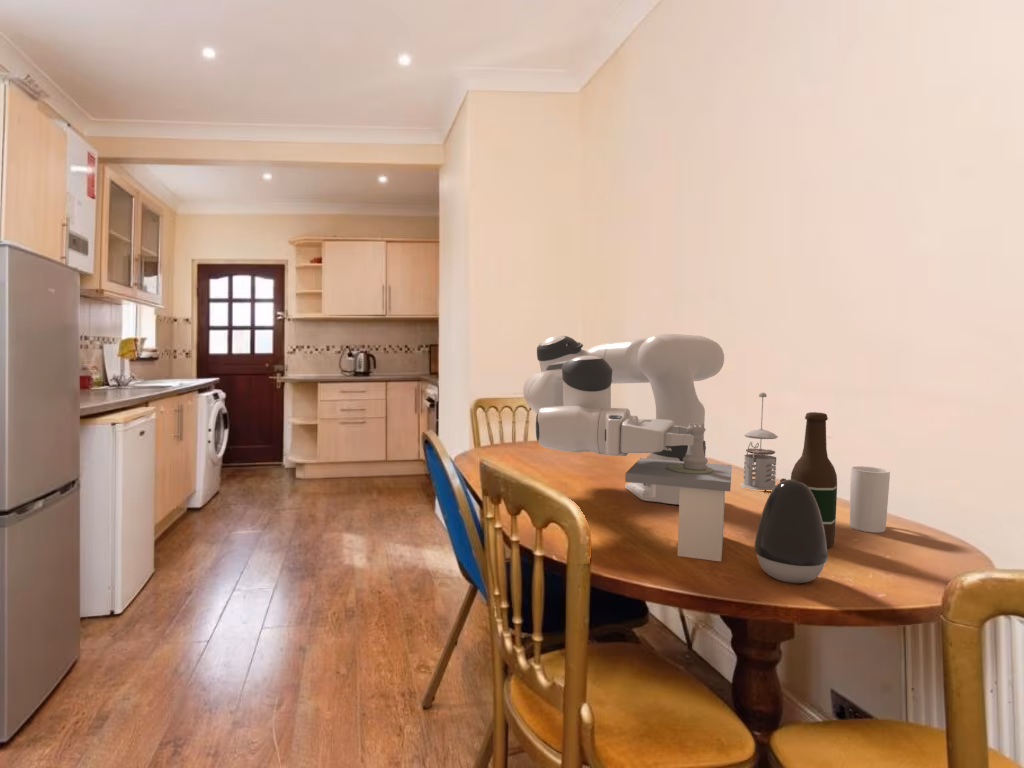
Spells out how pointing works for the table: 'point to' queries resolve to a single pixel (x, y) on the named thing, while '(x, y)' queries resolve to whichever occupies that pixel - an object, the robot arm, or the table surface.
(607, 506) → the table surface
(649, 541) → the table surface
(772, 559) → the dark grey egg speaker
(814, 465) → the beer bottle
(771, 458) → the french press
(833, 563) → the table surface
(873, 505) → the mug
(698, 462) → the rook chess piece
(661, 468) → the grey pedestal stand
